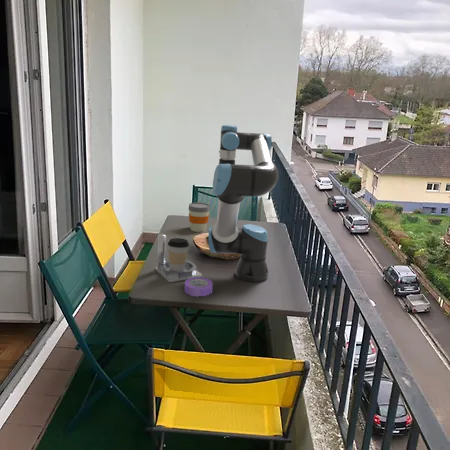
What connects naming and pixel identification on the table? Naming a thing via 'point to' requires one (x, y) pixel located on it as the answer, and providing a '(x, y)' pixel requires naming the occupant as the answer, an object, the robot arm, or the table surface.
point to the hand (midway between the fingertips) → (224, 202)
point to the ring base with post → (165, 266)
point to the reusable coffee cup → (198, 216)
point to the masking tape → (198, 286)
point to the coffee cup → (177, 253)
